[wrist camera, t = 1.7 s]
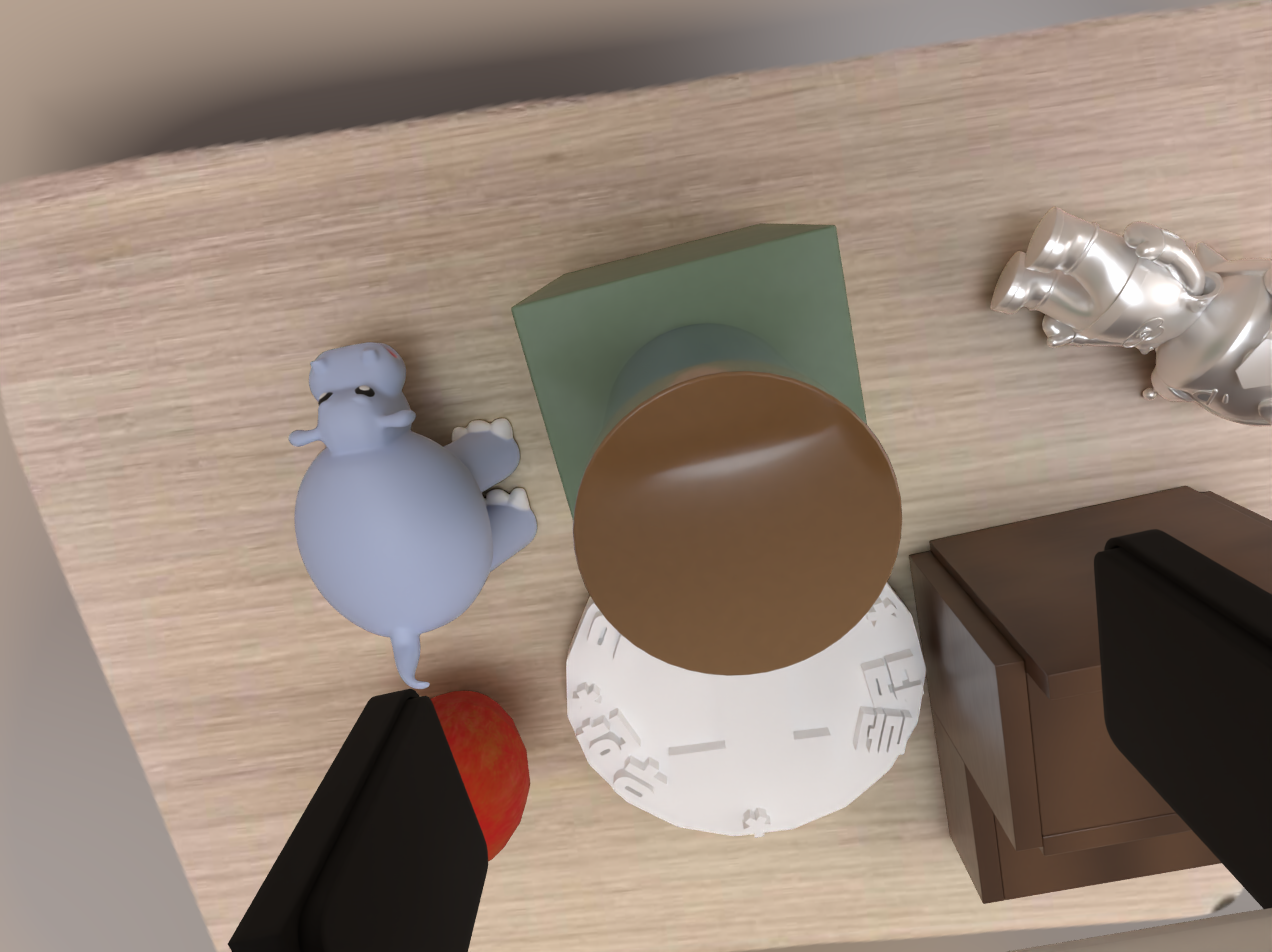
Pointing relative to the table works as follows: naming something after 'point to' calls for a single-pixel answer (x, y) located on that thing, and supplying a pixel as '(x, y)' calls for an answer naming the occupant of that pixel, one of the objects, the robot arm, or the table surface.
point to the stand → (684, 321)
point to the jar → (732, 507)
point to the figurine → (1153, 308)
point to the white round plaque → (747, 725)
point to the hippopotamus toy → (401, 504)
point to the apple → (487, 761)
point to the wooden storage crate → (1053, 694)
